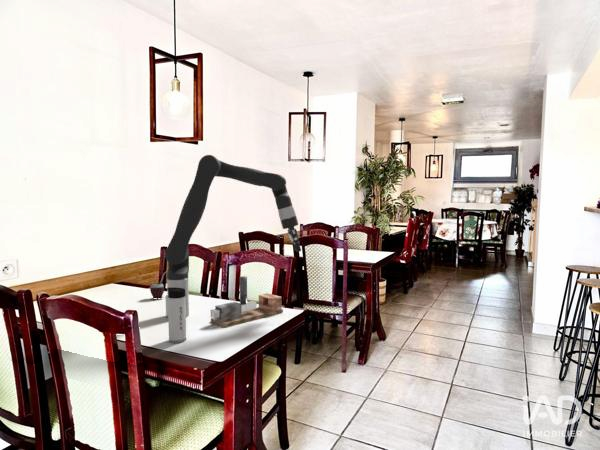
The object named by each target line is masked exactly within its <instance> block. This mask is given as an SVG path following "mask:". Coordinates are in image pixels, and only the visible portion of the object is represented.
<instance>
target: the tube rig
mask: <svg viewBox="0 0 600 450" xmlns="http://www.w3.org/2000/svg"><path fill="white" fill-rule="evenodd" d="M282 301H283V299H282V296H279V295H276V294H272V293H269V292H268V293H262V294H258V306H257V307H256V309H252V310H248V311H244V312H241V304H240V302H238V301H231V302H228V303H223V304H216V305H215V306H214V307H215V308H214V309H217V308H219V309H221V317H218V318H212V317H210V323H213V324H215V325H218V326H220V327H222V328H229V327H233V326H235V325H241V324H245V323H247V322H252V321H255V320H260V319H263V318H266V317H267V318H268V317H270V316H271V317H272V316H276V315H279V314H283V313H284V309H283V307H282ZM282 312H283V313H282Z"/></svg>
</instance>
